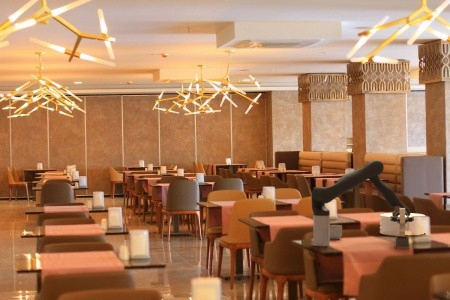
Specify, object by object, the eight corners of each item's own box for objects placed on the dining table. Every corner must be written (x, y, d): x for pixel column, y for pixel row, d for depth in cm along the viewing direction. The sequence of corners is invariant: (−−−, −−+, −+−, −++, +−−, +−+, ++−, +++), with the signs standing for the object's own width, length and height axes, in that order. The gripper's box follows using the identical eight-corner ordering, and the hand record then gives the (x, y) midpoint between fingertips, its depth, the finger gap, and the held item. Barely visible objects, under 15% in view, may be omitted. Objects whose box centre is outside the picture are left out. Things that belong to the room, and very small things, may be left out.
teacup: (337, 240, 536) (337, 227, 536) (320, 239, 542) (320, 225, 542) (347, 237, 548) (347, 224, 548) (330, 236, 554) (330, 223, 554)
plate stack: (422, 230, 583) (422, 213, 583) (427, 236, 555) (427, 217, 555) (378, 230, 586) (378, 212, 586) (381, 235, 558) (381, 217, 558)
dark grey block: (409, 248, 503) (409, 238, 503) (395, 248, 504) (395, 238, 504) (409, 246, 513) (409, 236, 513) (394, 245, 514) (394, 236, 514)
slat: (405, 235, 506) (405, 209, 505) (399, 235, 506) (399, 209, 506) (404, 234, 511) (405, 208, 510) (399, 234, 511) (399, 208, 511)
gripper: (389, 210, 523) (389, 213, 506) (414, 210, 521) (415, 214, 504) (389, 223, 524) (389, 227, 507) (414, 223, 521) (415, 227, 504)
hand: (402, 220), depth 505 cm, fingers closed on slat, 3 cm apart
